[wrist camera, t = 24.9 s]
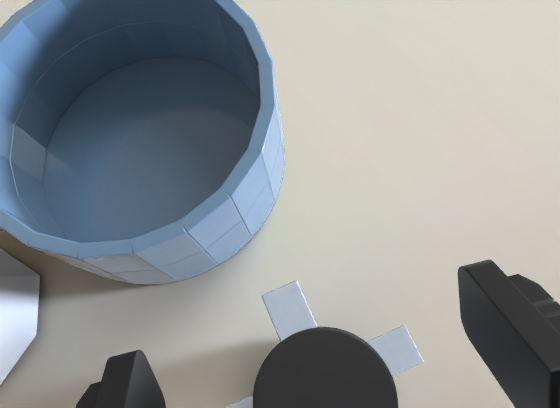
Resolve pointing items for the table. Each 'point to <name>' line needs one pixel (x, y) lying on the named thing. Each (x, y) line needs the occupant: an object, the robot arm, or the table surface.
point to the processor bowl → (137, 134)
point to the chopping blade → (326, 361)
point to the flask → (16, 310)
